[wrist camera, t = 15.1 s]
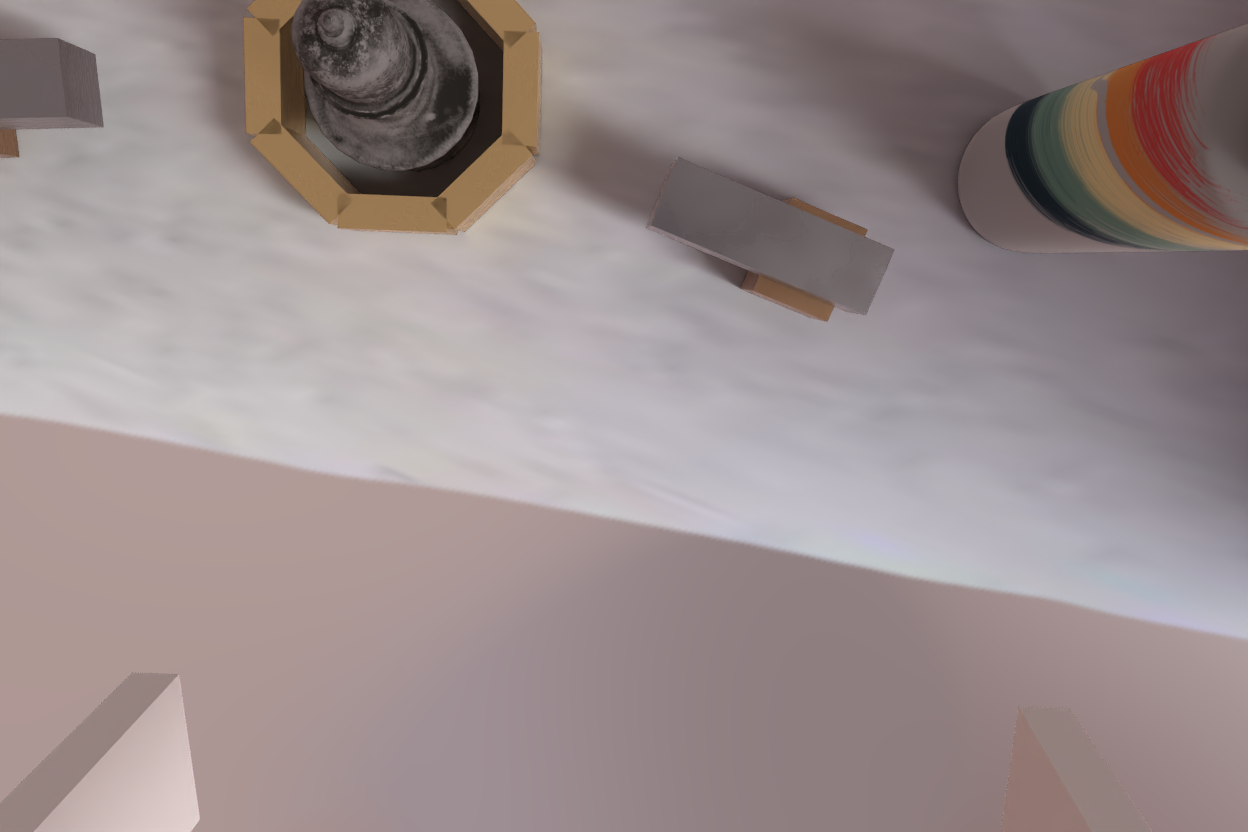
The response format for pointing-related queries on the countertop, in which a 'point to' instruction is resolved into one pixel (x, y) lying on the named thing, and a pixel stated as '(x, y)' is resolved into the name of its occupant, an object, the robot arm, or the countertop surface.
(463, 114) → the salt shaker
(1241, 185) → the lotion bottle
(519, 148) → the brass collar
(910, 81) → the countertop surface
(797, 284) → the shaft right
